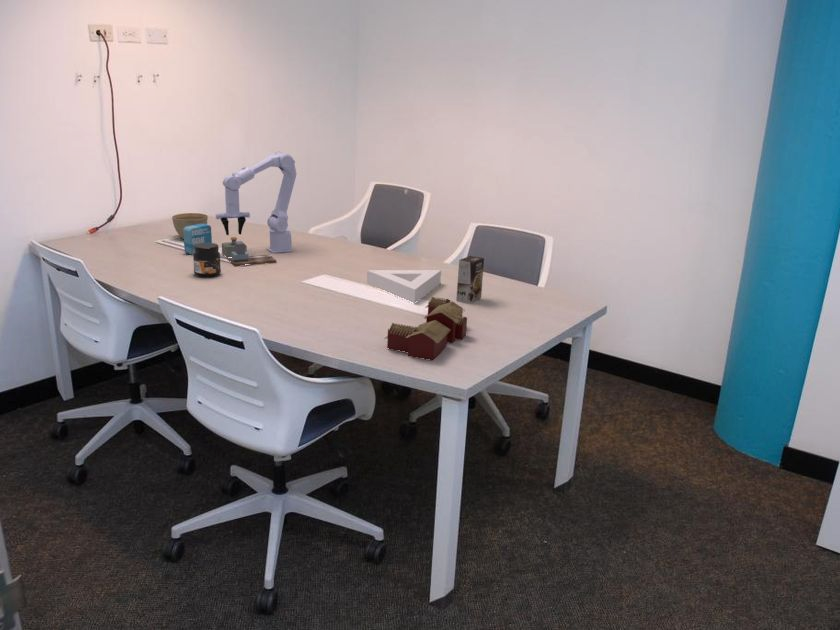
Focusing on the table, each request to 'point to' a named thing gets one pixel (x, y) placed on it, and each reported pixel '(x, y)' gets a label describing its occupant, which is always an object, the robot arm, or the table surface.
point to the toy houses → (430, 330)
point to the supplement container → (206, 260)
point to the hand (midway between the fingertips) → (233, 234)
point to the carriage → (239, 252)
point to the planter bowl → (188, 221)
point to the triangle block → (405, 282)
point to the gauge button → (233, 240)
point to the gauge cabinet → (229, 249)
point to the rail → (254, 260)
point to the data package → (196, 236)
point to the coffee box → (470, 279)
